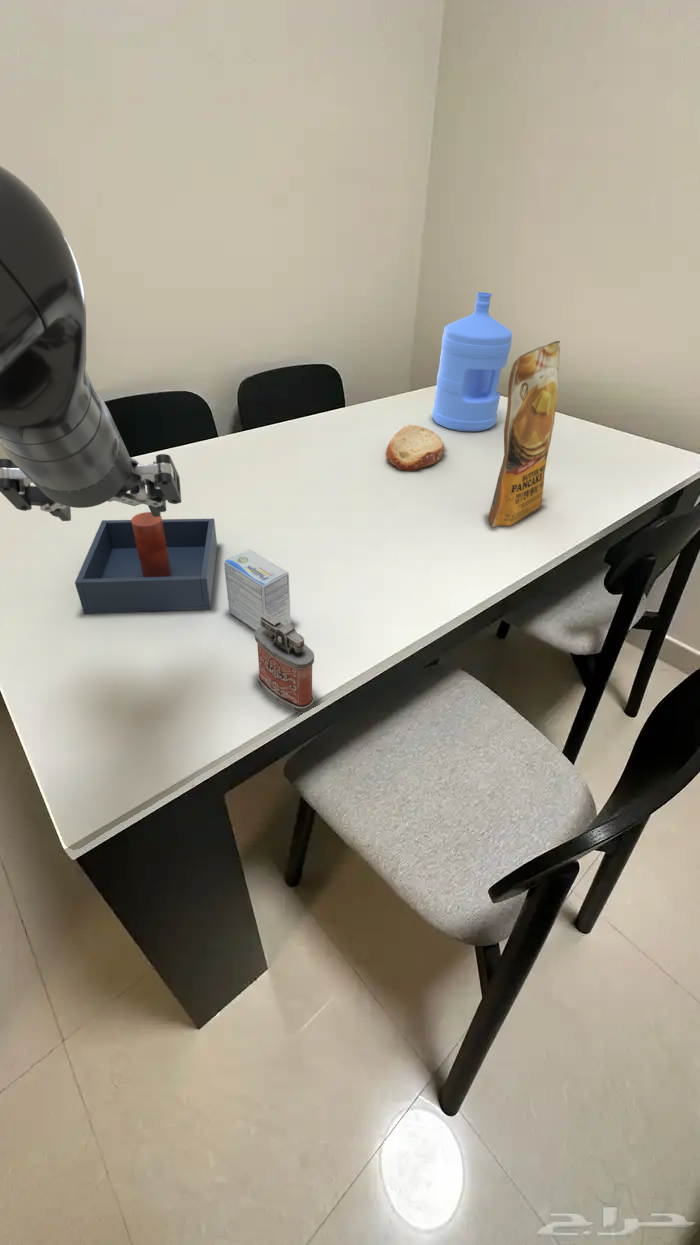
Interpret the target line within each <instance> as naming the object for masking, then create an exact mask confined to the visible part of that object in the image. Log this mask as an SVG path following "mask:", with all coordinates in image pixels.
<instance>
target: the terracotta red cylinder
mask: <svg viewBox="0 0 700 1245" xmlns="http://www.w3.org/2000/svg"><path fill="white" fill-rule="evenodd" d="M162 519H163V517H162V515H161V516H159V517H153V515H152V513H151V511H147V512H141V513H138V514H135V515H133V517H132V518H131V519H130V520H131V523H132V527H133V532H134V537H135V542H136V546H137V551H138V556H139V561H140V565H141V570H142V575H143V577H169V576H170V575H171V568H170V563H169V557H168V551H167V545H166V539H165V534H164V528H163V522H162Z"/></svg>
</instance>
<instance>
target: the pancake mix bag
mask: <svg viewBox="0 0 700 1245" xmlns="http://www.w3.org/2000/svg"><path fill="white" fill-rule="evenodd" d="M560 343H561V341H560V340H555V341H553V342H550V343H548V344H546V345H542V346H538V347H536V348H534V349H532V350H529V351H527V352H525V353H523V354H522V355H520V356H519V357H518V358H517V359H516V360H515V361H513V363H512V367H511V368H510V369H511V370H510V372H509V373H510V374H509V378H508V387H507V389H508V390H507V405H506V406H507V407H506V414H505V419H504V420H505V421H504V428H503V459H502V463H501V466H500V470H499V473H498V478H497V482H496V485H495V490H494V494H493V497H492V502H491V506H490V508H489V509H490V510H489V513H488V517H487V522H488V524H489V525H490V526H491V528H496V527H507V528H508V527H510V526H512V525H515V524H517V523H518V522H520V521H521V520H523V519H524V518H526V517H528V516H529V515H530V514H533V513H534V512H536V511H537V510H539V509H540V508H541V507H542V501H543V496H544V495H543V494H544V485H545V484H544V483H545V473H546V467H547V463H548V462H547V461H548V455H549V450H550V446H551V443H552V442H551V441H552V435H553V430H554V426H555V418H556V411H557V405H558V396H559V373H560V372H559V370H560V352H561V351H560V350H561V345H560Z"/></svg>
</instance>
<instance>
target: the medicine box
mask: <svg viewBox="0 0 700 1245" xmlns="http://www.w3.org/2000/svg"><path fill="white" fill-rule="evenodd" d="M223 566H224V574H225V576H224V577H225V584H226V585H225V586H226V593H227V602H228V611H229V614H231V615H233V616H234V617H235V618H237V619H238V620H239V621H241V622H242V623H244V624H245V625H247V626H248V627H250V628H251V629H252V630H254V631H256V630H257V629H258V628H260V627H262V626H261V625H260V617H261V616H262V615H264V614H269V615H270V616H272V617H274V618H275V619H277V620H278V621H280V622H281V623H283V624H284V625H286V624H288V623H290V624H291V625H292V619H291V596H290V574H289V572H288V571H287V570H285V569H283V568H282V567H280V566H278V565H277V564H275V563H274V562H272V561H270V560H268V559H267V558H265V557H263V556H262V555H260V554H259V553H257V552H255V551H254V550H252V549H246V550H244V551H241V552H239V553H238V554H235V555H233V556H231V557H228V558H227V559H225V560H224V561H223Z"/></svg>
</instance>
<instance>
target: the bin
mask: <svg viewBox="0 0 700 1245" xmlns="http://www.w3.org/2000/svg"><path fill="white" fill-rule="evenodd" d="M162 522H163V528H164V534H165V539H166V545H167V551H168V557H169V563H170V568H171V575H170V576H169V577H143V575H142V570H141V565H140V561H139V556H138V551H137V546H136V542H135V537H134V532H133V527H132V523H131V519H108V520H107V519H105V520H101V522H100V523H99V526H98V528H97V531H96V533H95V535H94V537H93V540H92V542H91V545H90V547H89V549H88V552H87V554H86V556H85V558H84V560H83V563H82V564H81V567H80V569H79V571H78V575H77V577H76V578H75V581H74V585H75V588H76V591H77V594H78V599H79V602H80V605H81V608H82V611H83V614H84V615H85V614H86V615H90V614H91V615H92V614H116V613H117V614H119V613H120V614H121V613H142V612H143V613H147V612H170V611H171V612H173V611H174V612H175V611H176V612H177V611H205V610H211V608H212V607H211V606H212V598H213V589H214V581H215V572H216V563H217V554H218V538H217V530H216V521H215V518H172V519H171V518H169V519H167V518H162Z"/></svg>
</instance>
